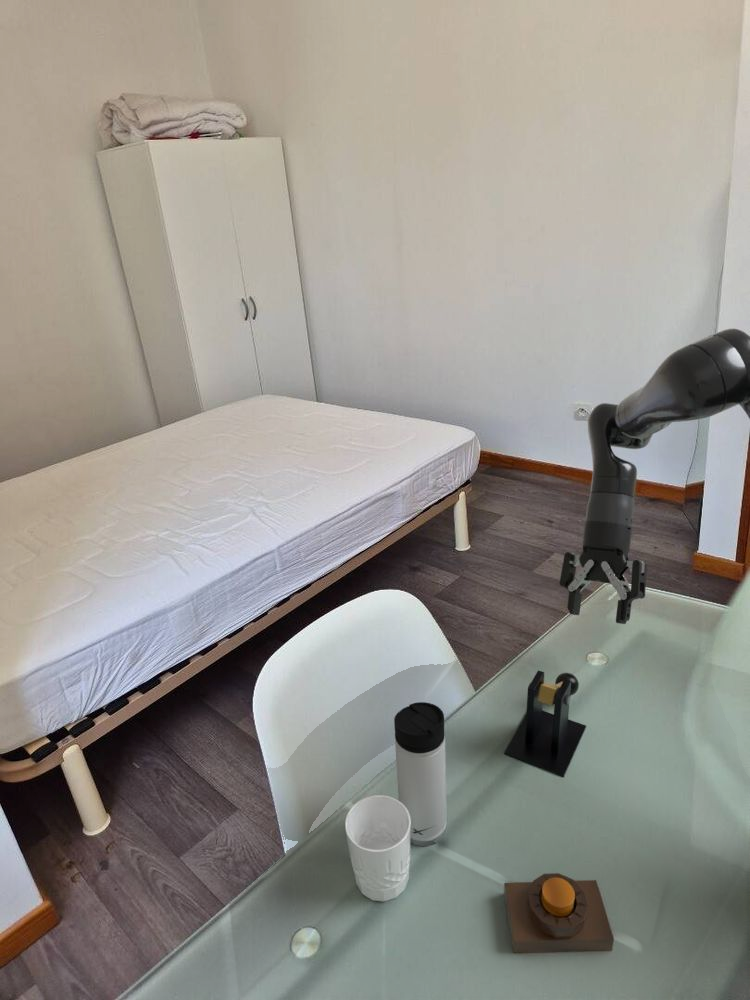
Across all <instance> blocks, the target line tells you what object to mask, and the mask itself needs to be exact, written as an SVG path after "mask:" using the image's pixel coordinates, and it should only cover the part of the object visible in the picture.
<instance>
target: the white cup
mask: <svg viewBox="0 0 750 1000" xmlns="http://www.w3.org/2000/svg"><path fill="white" fill-rule="evenodd" d="M344 820H345V821H344V829H345V835H346V840H347V846H348V853H349V856H350V861H351V862H350V863H351V866H352V869H353V873H354V878H355V884H356V886H357V888H358V889H359V891H360V892H361V895H363V896H365V897H367V898H368V899H370V900H371V901H376V902H382V903H383V902H384V903H385V902H388V901H390V900H394V899H396V898H398V897H399V896H400V895H401V894H402V893H403V892H404V891H405V890H406V888H407V885H408V882H409V880H410V863H411V842H410V839H411V819H410V815H409V812H408V810H407V809H406V807H405V806H404V805H403V804H402V803H401V802H400V801H399V799H396V798H395V797H392V796H390V795H385V794H375V795H370V796H366V797H363V798H361V799H360V800H358V801H357V802H355V803H354V804H353V805H352V806H351V807H350V808H349V810H348V811H347V814H346V817H345V819H344Z"/></svg>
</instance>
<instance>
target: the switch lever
mask: <svg viewBox="0 0 750 1000" xmlns="http://www.w3.org/2000/svg"><path fill="white" fill-rule="evenodd" d="M564 679H568V680H571V690H570V696H571V697H572V696H573V695H575V694H576V693H577V692H578V690H579V687H580V682H579V679H578V678H577V677H576V676H575V675H574V674H573V673H570V672H562V673H560V674H558V675H557V677H556V679H555V682H554V683H555V684H553V683H550V682H544V684H542V685H541V687H540V691H539V696H538V701H540V702H543V704H546V705H549V706H552V707H553V706H554V703H555V696H556V694H557V692H558V690H559V688H560V687H561V685H562V683H563V681H564Z"/></svg>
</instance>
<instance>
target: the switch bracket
mask: <svg viewBox="0 0 750 1000" xmlns="http://www.w3.org/2000/svg"><path fill="white" fill-rule="evenodd" d="M544 683H545V672H544V671H543V670H537V671H536V673H535V675H534V676H533V678H532V680H531V681H530V682H529V684H528V685H527V694H526V695H527V696H526V713H525V715H524V717H523V718H522V719H521V722H520V724H519V725H518V727H517V729H516V731H515V732H514V734H513V736H512V738H511V739H510V742H509V743H508V745H507V747H506V748H505V750H504V752H503V754H504V755H505V756H507V757H510V758H513V759H515V760H518V761H521V762H523V763H526V764H528V765H531V766H533V767H536V768H538V769H541V770H544V771H547V772H548V773H551V774H554V775H556V776H559V777H562V778H564V777H565V775H566V773H567V771H568V769H569V767H570V765H571V762H572V760H573V758H574V756H575V753H576V751H577V749H578V747H579V744H580V742H581V740H582V738H583V735H584V734H585V731H586V729H587V725H586V724H583V723H581V722H577V721H575V720H571V719H569V714H570V713H569V712H570V703H571V699H572V695H571V696H570V690H571V680H568V679H564V681H563V683H562V685H561V687H560V688H559V690H558V692H557V694H556V696H555V703H554V705H553V713H552V712H549V711H545V710H543V704H544V703H543V702H540V701H538V696H539V691H540V687H541V685H542V684H544Z"/></svg>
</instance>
